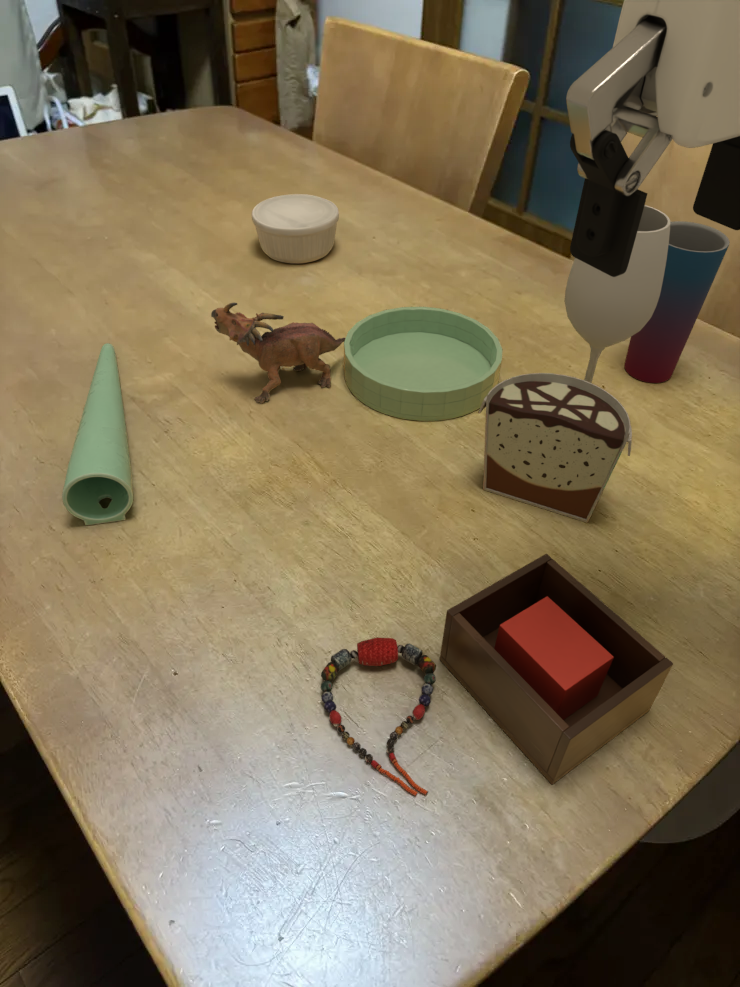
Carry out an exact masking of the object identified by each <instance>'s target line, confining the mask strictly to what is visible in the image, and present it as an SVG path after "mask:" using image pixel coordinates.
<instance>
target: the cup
mask: <svg viewBox="0 0 740 987" xmlns="http://www.w3.org/2000/svg"><path fill="white" fill-rule="evenodd" d="M729 247H730V239H729V237H728V236H727V235H726V234H725V233H724V232H722V231H721V230H719V229H716V228H715V227H712V226H709V225H707V224H703V223H698V222H693V221H683V220H681V221H680V220H675V221H670V235H669V244H668V252H667V260H666V266H665V272H664V277H663V283H662V288H661V292H660V296H659V299H658V303H657V306H656V308H655V310H654V312H653V315H652V317H651V318H650V320H649V321H648V322H647V323H646V325H645V326H644V327H643V328H642V329H641V330H640V331H639V332H637V333H636V334H634V335H633V336H631V337H630V338H629V343H628V348H627V352H626V356H625V359H624V370H625V372H626V373H627V374H628V375H629V376H630V377H632V378H633V379H636V380H638V381H641V382H644V383H650V384H660V383H665V382H667V381H669V380H670V379H671V378H672V376H673V374H674V372H675V370H676V368H677V365H678V363H679V360H680V358H681V356H682V353H683V351H684V349H685V347H686V344H687V343H688V340H689V338H690V336H691V333H692V330H693V328H694V327H695V324H696V321H697V320H698V317H699V314H700V313H701V311H702V308H703V306H704V303H705V301H706V299H707V297H708V294H709V292H710V290H711V287H712V285H713V283H714V280H715V279H716V276H717V274H718V272H719V269H720V267H721V265H722V262H723V260H724V257H725V255H726V253H727V251H728V249H729Z"/></svg>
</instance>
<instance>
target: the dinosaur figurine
mask: <svg viewBox="0 0 740 987" xmlns="http://www.w3.org/2000/svg"><path fill="white" fill-rule="evenodd" d="M235 306H238V302H230V303H228V304H226V305H225V306H224V307H217V308H215V309H213V310H212V311H211V312H210V316H211V318H213V319H214V320H215V321H214V328H215V330H216V332H217V333H219V334H222V335H224V336H227V337H228V338H229V339H228V340H229V341H233V342H234V343H236V346H239V348H240V349H241V351H242V352H243V353H246V354H247V355H249V356H250V357H252V359H254V360H256V361H257V362H258V366H259V367H260V368H261V370H262V371H264V372H267V378H268V381H267V384H266V385H265V386H264V387H262V388H261V393H260V394H259V395H258V396H255V397H254V400H255V401H256V403H260V404H264V403H265V402H268V401H269V400H270V398H271V395H270V392H271V391H272V390H274V389H275V388H277V387H279V386H281V384H282V380H281V378H280V373H279V370H281V367H282V368H283V367H285V368H289V367H293V371H295V372H296V371H298V372H301V371H303V370H304V371H305V370H306V369H307V368H308V369H310V370H315V371H317V372H321V376H320V378H319V379H318V381H317V385H320V387H321V388H325V387H327V388H330V387H331V384H332V378H331V366H330V365H329V364H328V363H325V361H324V360H323V359H321V358H320V356H321V355H324V354H327V353H330V352H334V351H336V350H337V349H338V348H339V347H340V346H341V345H342V343H344V341H345V338H346V337H339V338H337V339H336V338H335V336H333V335H332V334H331V333H330V331H327V330H326V329H324V328H320V327H319V326H318V325H316V324H315V323H314V322H290V323H288V324H287V325H284V326H280V327H276V328H273V327H272V326H271V325H269V324H268V323H266V322H263V321H264V320H275V321H276V320H284V317H285V315H281V314H275V313H269V312H268V313H267V312H261V313H259V314H258V313H255V316H254V317H247V316H246V315H245V314H243V313H241V312H240V311H239V312H231V309H232V308H234V307H235ZM257 328H263V329H266V330H269V331H265V332H264V333H263V334H262V335H261V333H260V332H259V331H258V329H257Z"/></svg>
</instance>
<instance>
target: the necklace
mask: <svg viewBox="0 0 740 987" xmlns="http://www.w3.org/2000/svg"><path fill="white" fill-rule="evenodd" d="M399 654H401V657H402V659H403V660H404V661H406V662H408V663H410V664H412V665H413V666H417V667H418V668H419V669H420V670H421V671H422V672H423V674H424V677H423V681H424V684H423V685H421V687H420V689H421V695H420V696H419V698H418V702H419V704H417V705H416V706H414V708H413V710H412V712H411V715H408V716H406V718H405V720H403V721H402V722H400V725H398V726H396V727H395V729H394V731H392V732H390V734H389V739H387V741H386V746H387V748H386V750H385V751H386V753H387V755H388V757H389V760H390V762H391V764H392V765H393V766H394V767H395V768H396V769H397V771H399V773H401V774H402V775H403V776H404V778H405V780H407V782H408V783H409V784H410V785H411V786H412V787H413V788H414V789H413V788H411V787H410V786H409V785H407V783H405V782H404V781H403V780H402V779H401V778H400V777H399V776H396V775H394V774H392V773H391V772H390V770H387V769H384V768H383V767H382V765H381V764H380V763H379V762H378V761H376V760H375V759H374V756H373V755H372V754H371V753H368V751H367V749H366V748H364V747H362V745H361V743H360V742H358V741H357V742H356V740H355V738H354V737H353V736H350V733H349V731H346V727H345V725H344V724H342V716H341V714H340V712H339V711H337V710H336V709H337V704H336V703H335V701H334V695H333V693H332V690H333V682H334V681H335V679H336V678H337V676H338V675H339V673H340V671H341V670H342V669H344V668H346V667H347V666H349V665H350V664H351V663H352V661H353V660H356V659H357V661H358V664H359V665H361V666H369V667H371V666H373V667H382V666H385V665H390V664H394V663H396V662H397V661H398V660H399ZM436 669H437V664H436V663H435V662H434V660H432V659H431V658H430V656H429V655H428V654H424V652H423V650H422V649H420V648H419V647H417V646H415V645H413V644H412V643H406V644H405V645H403V644H398V643H397V640H396V639H395V638H394V637H374V638H373V637H372V638H370V639H364V640H362V641H359V642H358V643H356V650H354V649H353V650H351V651H349V650H348V649H347V648H342V649H340V650H339V651H337V652H336V653H334V654H333V655H331V656H330V661H329V662H328V663H327V664H326V666H325V667H324V668H323V669H322V671H321V673H320V677H321V679H322V680H323V681H322V683H321V684H320V690H321V691H322V692H323V693H322V694H321V697H320V698H321V702H322V703H324V705H323V709H324V711H325V712H326V713H329V722H330V723H331V725H332V726H333V727H336V728H337V729H336V731H337V732H338V733H340V734H341V738H342V739H343V740H346V743H347V745H348V746H352V749H353V750H354V751H357V752H358V755H359V756H360V757H364V760H365V762H366V763H370V765H371V766H372V767H373V768H374V769H375V770H377V771H378V772H379V773H381V774H384V775H385V776H387V777H388V778H389V779H391V780H392V781H393V782H396V784H398V785H399V786H401V787H402V788H403V790H405V791H407V793H409V794H411V795H413V796H415V797H416V796H417V795H418V793H419V792H420V793H422V794H423V795H427V794H429V791H428V790H426V789H425V788H424V787H421V786H420V785H418V783H417V782H416V781H414V780H413V778H412V777H411V776H410V774H408V771H406V770H405V769H404V768H403V767H402V766H401V765H400V764H399V762H398V759H397V757H396V755H395V748H394V746H395V743H396V742H395V741H396V740H397V739H398V737H399V735H401V734H403V732H404V730H407V729H409V725H411V724H413V723H414V721H415V720H416V721H418V720H421V719H422V718H423V717H424V715H425V714H426V707H429V705H430V704H431V701H432V699H431V697H430V696H431V695H432V694H433V693H434V687H433V685H434V684H435V683H436V680H437V678H436V676H435V674H434V672H435V671H436Z"/></svg>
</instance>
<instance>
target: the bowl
mask: <svg viewBox="0 0 740 987" xmlns="http://www.w3.org/2000/svg"><path fill="white" fill-rule="evenodd" d="M344 338H345V341H344V342H343V375H344V376H343V377H344V380H345V384H346V386H347V388H348V389H349V391H350V393H351V394H352V395H353V396H354V398H356V399H357V400H358V401H360V402H361V403H363V404H364V405H365V406H367V407H368V408H370V409H372V410H374V411H377V412H378V413H381V414H384V415H387V416H389V417H393V418H396V419H397V418H398V419H403V420H407V421H408V420H409V421H416V422H417V421H419V422H438V421H446V420H453V419H457V418H460V417H463V416H466V415H469V414H471V413H473V412H475V411H477V410H480V407H481V405H482V402H483V400H484V399H485V397H486V396H487V395H488V393H489V392H490V391H491V389H492V388H494V387H495V386H496V385H497V384H499V381H500V380H499V379H500V375H501V368H502V363H503V362H502V361H503V350H504V349H503V347H502V344H501V342H500V339H499V338H498V337H497V335H495V333H494V332H493V331H492V330H491V329H490V328H489V327H488V326H486V325H484V324H483V323H482V322H480V321H479V320H477V319H475V318H473V317H470V316H468V315H465V314H463V313H461V312H457V311H453V310H449V309H445V308H441V307H432V306H401V307H400V306H399V307H395V308H388V309H384V310H381V311H378V312H375V313H371V314H369V315H367V316H366V317H364V318H361V319H360V320H358V321H357V322H356V323H355V324H354V325H353V326H352V327H351V328H350V329H349V330H348V331H347V333H346V335H345V337H344Z"/></svg>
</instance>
